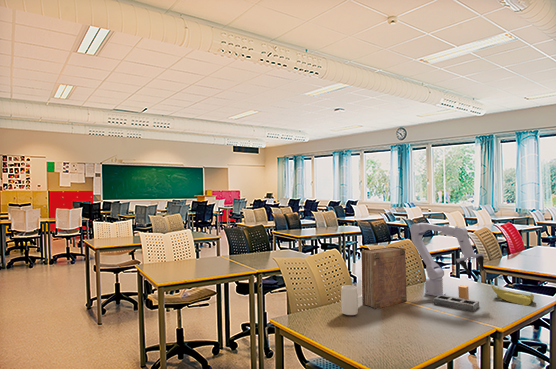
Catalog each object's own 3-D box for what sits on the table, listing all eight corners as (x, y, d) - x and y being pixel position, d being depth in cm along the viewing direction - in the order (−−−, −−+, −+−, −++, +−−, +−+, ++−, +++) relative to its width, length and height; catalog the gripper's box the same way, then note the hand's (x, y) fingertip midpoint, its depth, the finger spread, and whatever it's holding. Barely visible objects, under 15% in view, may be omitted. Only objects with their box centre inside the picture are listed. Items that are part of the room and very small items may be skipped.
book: (374, 309, 194) (372, 253, 195) (362, 305, 202) (360, 250, 203) (406, 301, 207) (405, 248, 208) (394, 297, 215) (392, 246, 216)
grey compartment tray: (434, 303, 201) (433, 298, 201) (440, 299, 208) (440, 294, 208) (473, 311, 187) (473, 305, 187) (479, 307, 194) (479, 301, 194)
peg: (458, 300, 206) (458, 286, 206) (461, 299, 209) (460, 285, 209) (466, 302, 203) (465, 287, 204) (468, 300, 206) (468, 286, 206)
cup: (358, 318, 182) (357, 289, 182) (341, 317, 183) (340, 289, 184) (358, 312, 190) (357, 285, 190) (341, 311, 192) (341, 284, 192)
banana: (534, 296, 202) (531, 292, 196) (532, 310, 200) (529, 306, 194) (494, 288, 216) (490, 283, 210) (492, 300, 214) (488, 296, 208)
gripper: (455, 251, 203) (464, 275, 199) (482, 244, 201) (491, 268, 197) (452, 251, 210) (461, 275, 206) (477, 245, 208) (487, 268, 204)
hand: (475, 272), depth 202 cm, fingers open, 7 cm apart
